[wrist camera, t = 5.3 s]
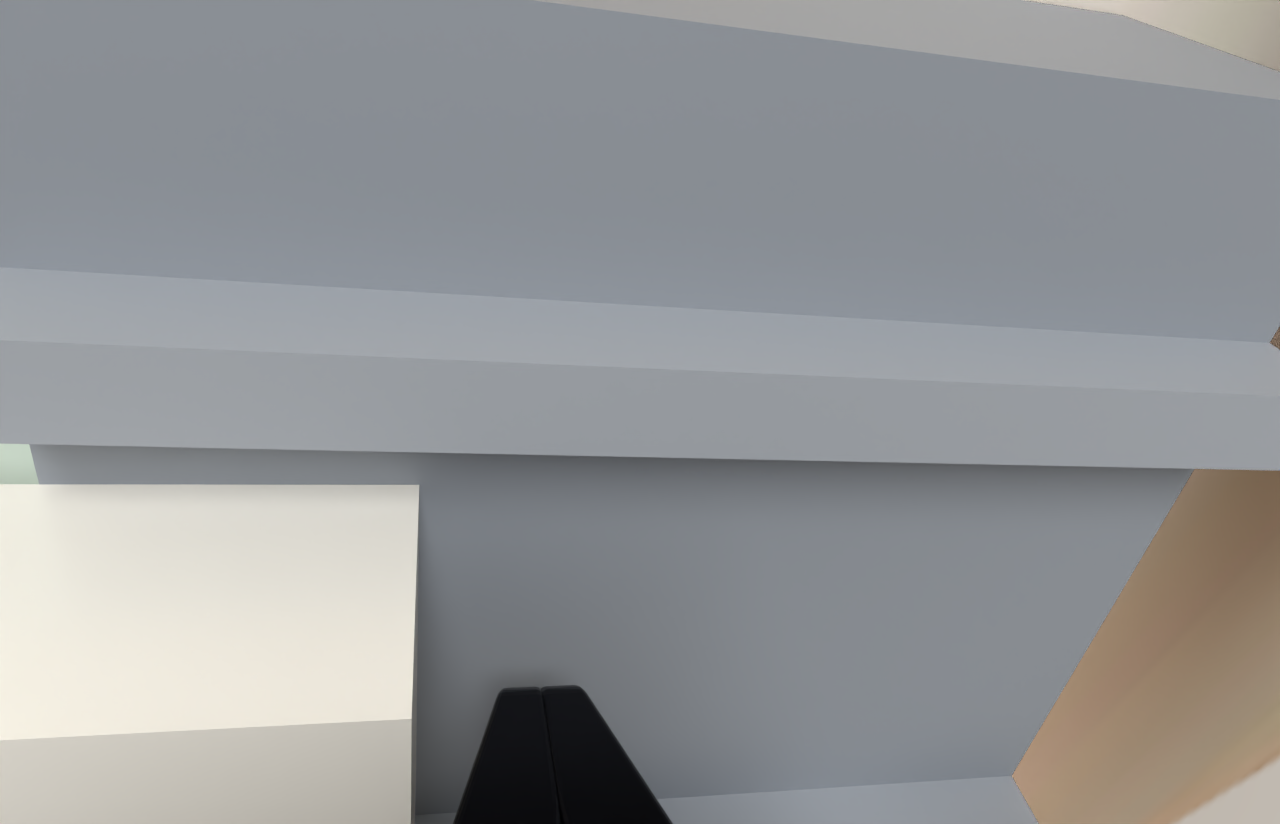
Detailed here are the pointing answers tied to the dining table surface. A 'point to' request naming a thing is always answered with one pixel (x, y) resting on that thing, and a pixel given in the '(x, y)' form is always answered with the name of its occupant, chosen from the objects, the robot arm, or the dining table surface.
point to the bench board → (668, 342)
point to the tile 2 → (208, 653)
